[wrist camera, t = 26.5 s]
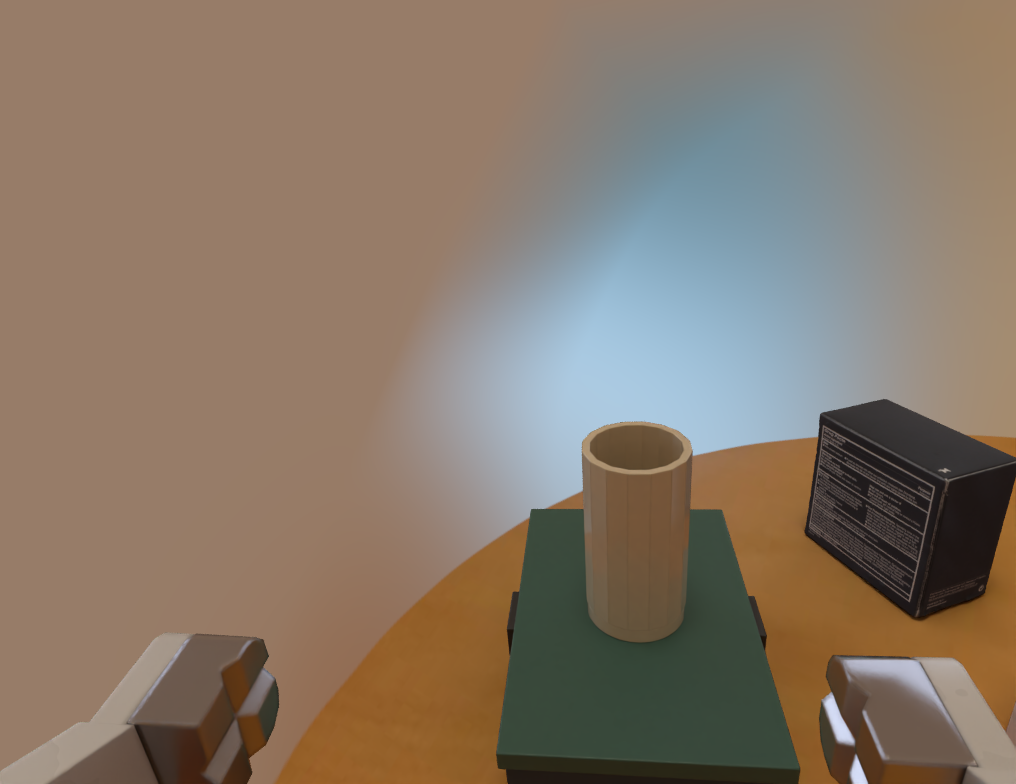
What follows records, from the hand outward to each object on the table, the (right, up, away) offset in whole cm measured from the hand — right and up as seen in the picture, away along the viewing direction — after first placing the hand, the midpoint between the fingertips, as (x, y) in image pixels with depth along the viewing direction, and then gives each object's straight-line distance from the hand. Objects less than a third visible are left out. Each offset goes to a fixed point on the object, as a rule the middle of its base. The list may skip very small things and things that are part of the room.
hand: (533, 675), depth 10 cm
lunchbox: (+7, -14, +30) cm, 34 cm away
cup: (+7, -8, +27) cm, 29 cm away
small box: (+27, -8, +39) cm, 48 cm away
